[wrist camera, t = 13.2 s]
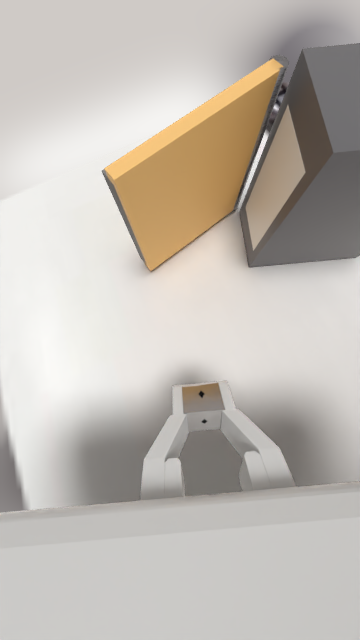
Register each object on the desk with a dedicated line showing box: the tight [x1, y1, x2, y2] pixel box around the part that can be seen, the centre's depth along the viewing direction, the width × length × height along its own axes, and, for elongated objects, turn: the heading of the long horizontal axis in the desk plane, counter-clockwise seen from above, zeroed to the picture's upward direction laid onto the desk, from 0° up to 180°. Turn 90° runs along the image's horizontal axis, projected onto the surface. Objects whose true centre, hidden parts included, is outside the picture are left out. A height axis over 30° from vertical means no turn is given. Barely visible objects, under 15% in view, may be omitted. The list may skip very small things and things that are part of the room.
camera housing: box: [240, 43, 360, 267], centre depth 13 cm, size 7×10×11 cm
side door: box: [102, 55, 289, 271], centre depth 13 cm, size 11×2×9 cm, turn 129°
